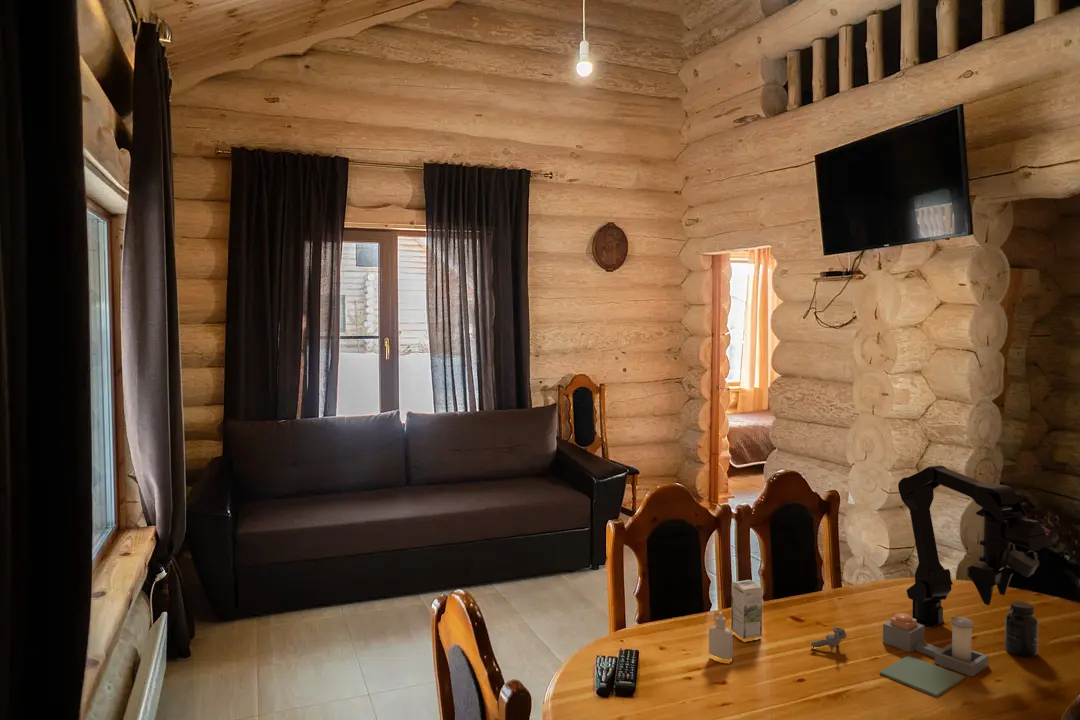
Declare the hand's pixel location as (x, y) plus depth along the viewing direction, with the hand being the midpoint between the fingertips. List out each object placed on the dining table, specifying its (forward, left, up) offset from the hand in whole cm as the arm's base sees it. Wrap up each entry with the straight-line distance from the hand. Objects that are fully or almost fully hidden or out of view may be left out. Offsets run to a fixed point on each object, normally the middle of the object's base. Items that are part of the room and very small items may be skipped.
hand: (994, 599), depth 179 cm
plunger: (-16, -12, -12) cm, 24 cm away
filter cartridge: (-2, -12, -14) cm, 18 cm away
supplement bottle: (+4, +6, -14) cm, 16 cm away
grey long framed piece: (-9, -12, -14) cm, 20 cm away
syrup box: (-43, -40, -14) cm, 60 cm away
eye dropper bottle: (-39, -55, -14) cm, 69 cm away
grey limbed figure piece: (-25, -30, -14) cm, 42 cm away
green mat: (-5, -25, -14) cm, 29 cm away
